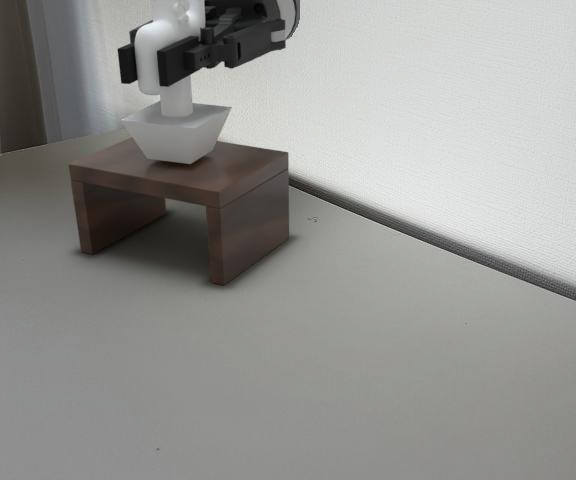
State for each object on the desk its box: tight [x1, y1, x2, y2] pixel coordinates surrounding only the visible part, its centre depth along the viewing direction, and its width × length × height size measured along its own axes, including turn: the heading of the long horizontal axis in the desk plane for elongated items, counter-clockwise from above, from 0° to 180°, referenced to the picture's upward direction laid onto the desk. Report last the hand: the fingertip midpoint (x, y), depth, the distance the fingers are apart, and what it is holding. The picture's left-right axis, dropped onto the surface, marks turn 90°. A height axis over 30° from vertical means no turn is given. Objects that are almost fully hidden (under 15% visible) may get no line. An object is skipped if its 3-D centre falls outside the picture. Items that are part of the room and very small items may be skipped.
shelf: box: [67, 136, 290, 286], centre depth 81 cm, size 16×12×8 cm
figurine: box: [120, 0, 233, 164], centre depth 75 cm, size 7×9×15 cm
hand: (143, 67), depth 70 cm, fingers closed on figurine, 3 cm apart
